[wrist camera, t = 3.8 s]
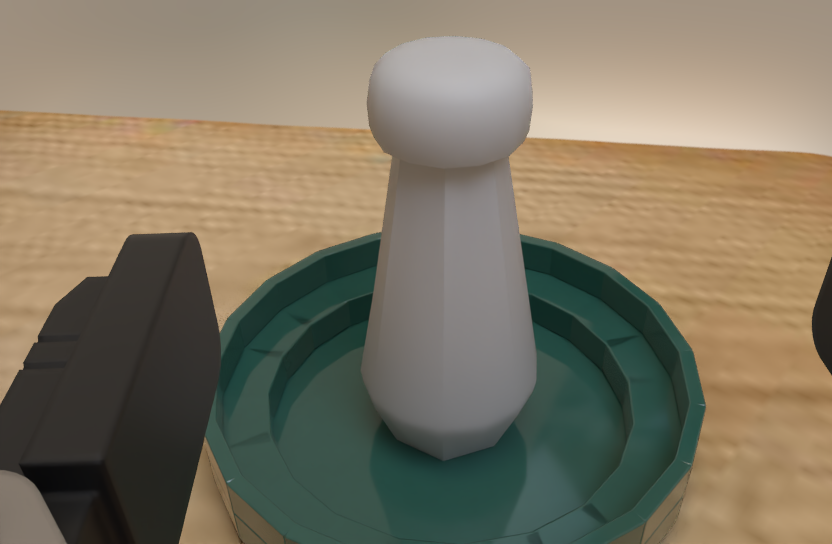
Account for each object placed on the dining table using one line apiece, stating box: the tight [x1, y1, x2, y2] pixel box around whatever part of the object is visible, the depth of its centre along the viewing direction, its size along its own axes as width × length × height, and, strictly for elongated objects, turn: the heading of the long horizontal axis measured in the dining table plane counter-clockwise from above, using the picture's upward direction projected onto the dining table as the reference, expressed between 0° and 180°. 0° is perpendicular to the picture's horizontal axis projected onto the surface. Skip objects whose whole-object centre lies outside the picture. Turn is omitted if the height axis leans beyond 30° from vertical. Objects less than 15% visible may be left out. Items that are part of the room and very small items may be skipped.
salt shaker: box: [361, 36, 537, 461], centre depth 24 cm, size 6×6×13 cm
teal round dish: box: [204, 232, 706, 544], centre depth 27 cm, size 16×16×3 cm
